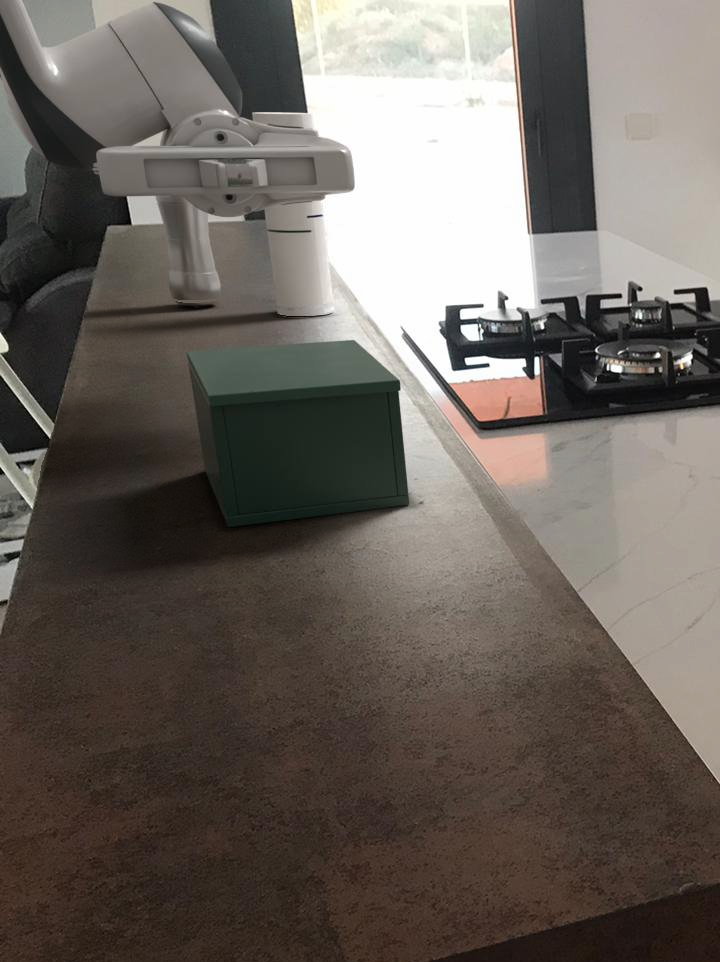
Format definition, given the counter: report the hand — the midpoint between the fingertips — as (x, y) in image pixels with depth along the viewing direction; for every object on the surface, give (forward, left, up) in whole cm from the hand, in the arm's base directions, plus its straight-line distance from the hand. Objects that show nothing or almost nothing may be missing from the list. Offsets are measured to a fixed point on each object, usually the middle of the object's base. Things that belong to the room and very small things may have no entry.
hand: (239, 176), depth 105 cm
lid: (+15, -8, -13) cm, 21 cm away
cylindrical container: (-51, +42, -22) cm, 70 cm away
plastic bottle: (-66, +36, -22) cm, 79 cm away
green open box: (+15, -8, -22) cm, 28 cm away
